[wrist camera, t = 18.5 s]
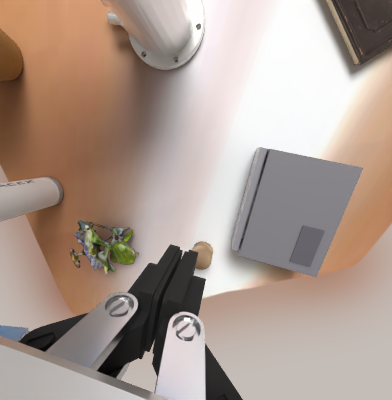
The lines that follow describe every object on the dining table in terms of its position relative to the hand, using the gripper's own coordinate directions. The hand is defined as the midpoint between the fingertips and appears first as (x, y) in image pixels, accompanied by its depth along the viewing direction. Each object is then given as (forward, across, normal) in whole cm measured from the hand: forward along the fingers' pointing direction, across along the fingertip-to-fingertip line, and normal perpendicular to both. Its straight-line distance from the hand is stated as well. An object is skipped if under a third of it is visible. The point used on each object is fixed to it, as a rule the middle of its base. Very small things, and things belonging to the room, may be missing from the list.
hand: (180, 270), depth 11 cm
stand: (+27, 0, +13) cm, 30 cm away
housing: (+27, -12, 0) cm, 29 cm away
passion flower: (+27, +19, +16) cm, 36 cm away
